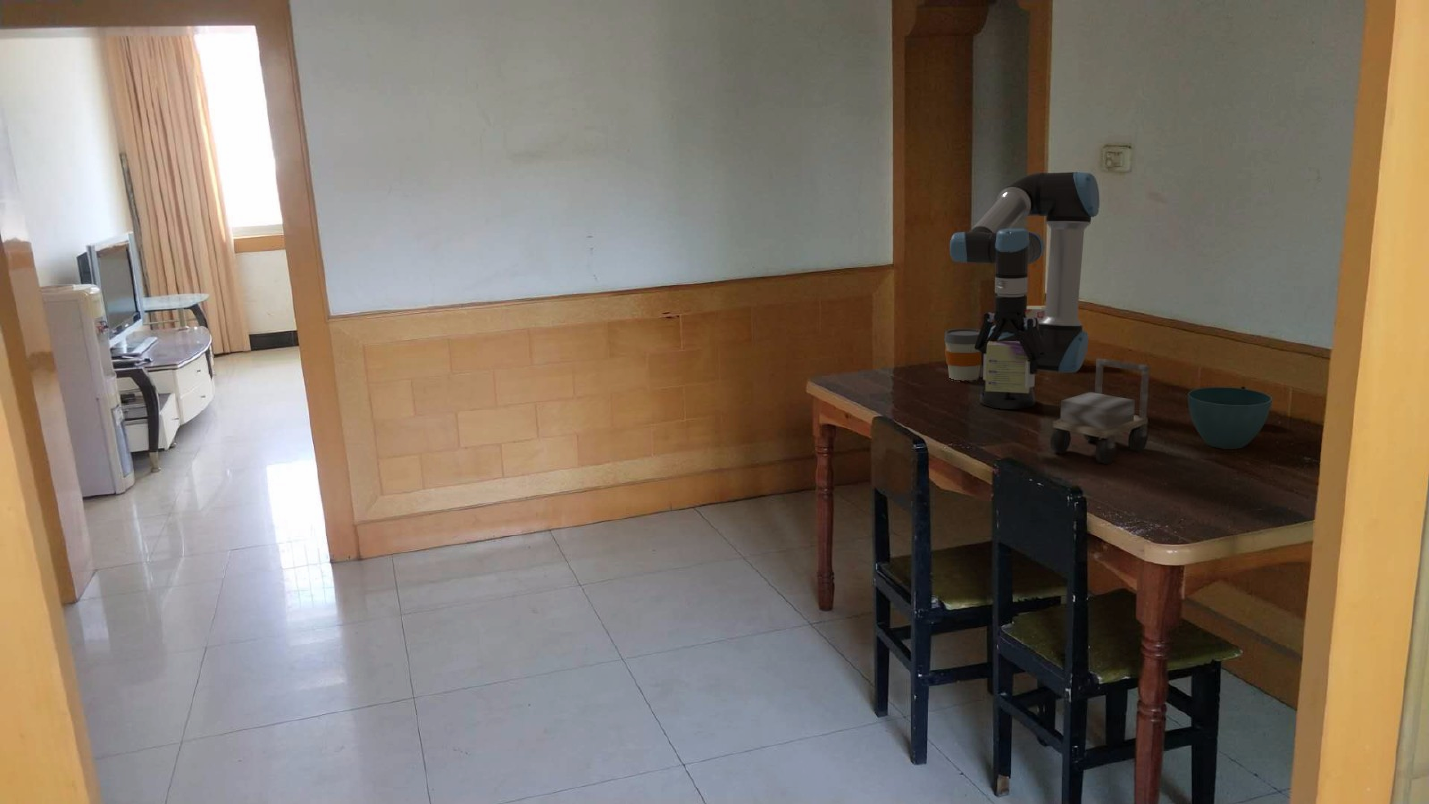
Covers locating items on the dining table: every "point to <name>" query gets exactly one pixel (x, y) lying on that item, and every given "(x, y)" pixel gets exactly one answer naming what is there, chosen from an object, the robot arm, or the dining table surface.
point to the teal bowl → (1228, 415)
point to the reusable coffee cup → (962, 354)
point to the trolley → (1103, 416)
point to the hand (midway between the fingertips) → (1008, 382)
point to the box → (1005, 367)
